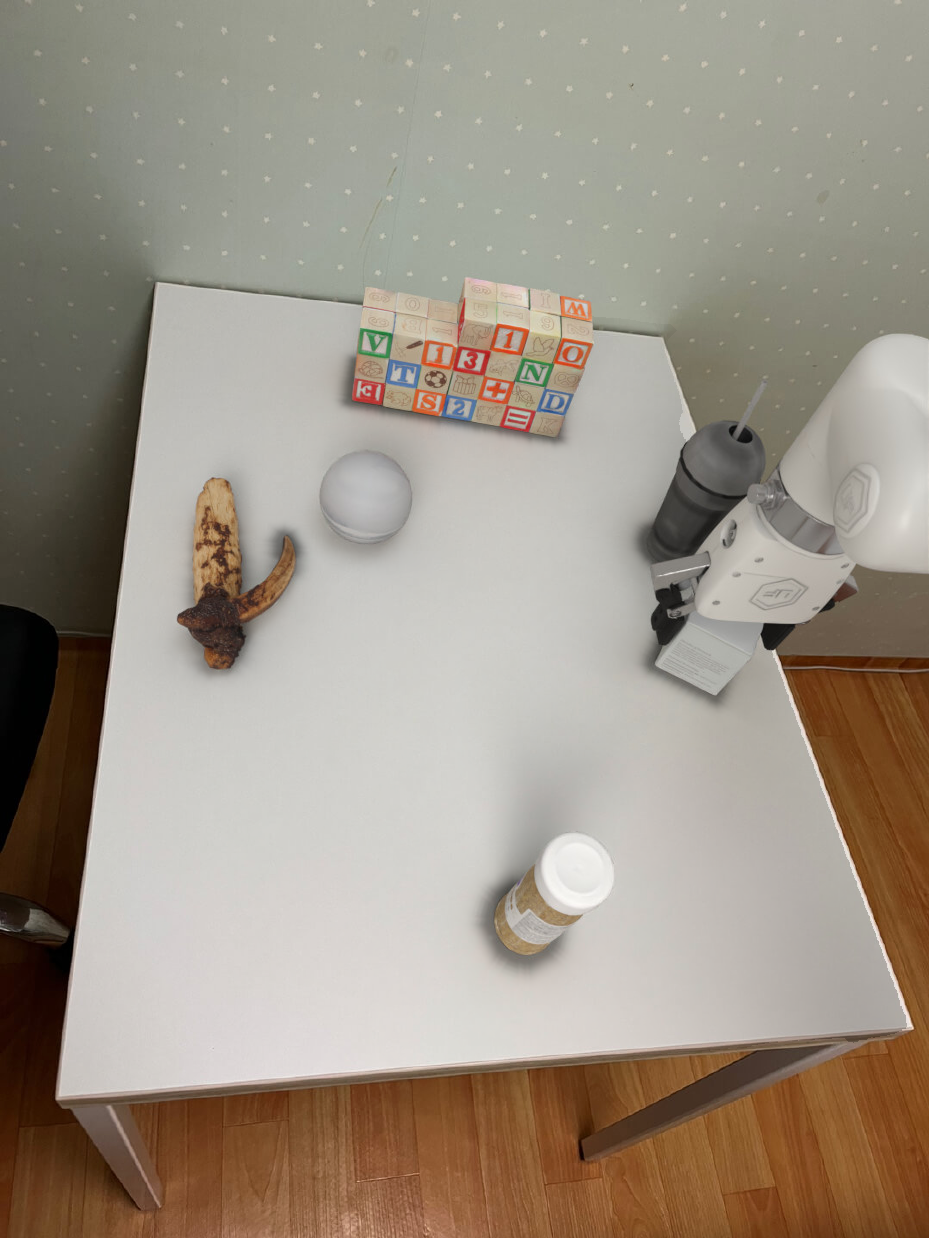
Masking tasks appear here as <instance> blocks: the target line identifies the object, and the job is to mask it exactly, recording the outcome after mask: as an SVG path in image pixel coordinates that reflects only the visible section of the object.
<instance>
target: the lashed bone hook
mask: <svg viewBox="0 0 929 1238" xmlns="http://www.w3.org/2000/svg"><path fill="white" fill-rule="evenodd" d="M232 491H233V489H232V485H231V482H230V481H229V480H228V479H226V478H223V477H214V476H213V477H211V478H209V479H208V480H207V481H205V483H204V485H203V487H202V491H201V492H200V493H199V494H198V496H197V499H196V504H195V525H194V526H193V540H192V542H193V544H192V549H193V551H192V574H193V600H194V606H192V607H189V608H186V609H184V610H183V611H182V612H179V613H178V614H177V616H176V622H177V623H178V624H179V625H180V626H183V627H185V628H187V630H188V631H189V634H190V635H191V637H192V638H193V639H194V640H196V641H197V642H198V643H199V644H201V646H202V647H203V648H204V649H203V659H204V661H205V662H206V664H207V665H208V667H209V668H211V669H214V670H227V669H231V668H232V667H233V666H234V664H235V662H236V659H237V658H239V657H240V652H241V650H242V648H243V647H244V645H245V643H246V638H247V635H246V634H245V633H244V628H243V624H246V623H249V622H250V621H252V620H254V619H255V618H258V617H259V616H262V615H263V614H264V613H265V612H267V611H268V610H270V609H271V608H272V607H273V606H274V605H275V604H276V602H277V601H278V600H279V599H280V598H281V597H282V596H283V594H284V592H285V591H286V589H287V588H288V586H289V584H290V581H291V580H292V578H293V576H294V572H295V570H296V563H297V556H296V555H297V554H296V551H295V547H294V545H293V543H292V540H291V539H290V537H289V536H288V535H284V537H283V540H282V548H281V549H282V550H281V552H280V556H279V559H278V561H277V563H276V564H275V566H274V568H273V569H272V571H271V572H270V574H269V575H268V576H267V577H266V578H265V579H264V580H263V581H262V582H261V583H259V584H256V585H255V586H254V587H253V588H251V589H249V590H247V591H246V592H243V593H241V590H242V587H243V577H242V575H243V573H242V562H243V555H242V553H241V548H240V540H239V535H240V534H239V533H240V532H239V519H238V515H237V511H236V503H235V496H234V493H233V492H232Z"/></svg>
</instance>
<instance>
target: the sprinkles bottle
mask: <svg viewBox="0 0 929 1238" xmlns="http://www.w3.org/2000/svg"><path fill="white" fill-rule="evenodd" d="M615 882H616V868H615V863H614V860H613V858H612V856H611V854H610V852H609V850H608V849H607V848H606V847H605V846H604V844H603V843H602V842H601V841H600V840H598V838H596V837H594V836H592V835H590V834H588V833H585V832H580V831H568V832H567V831H566V832H562V833H560V834H558V835H556V836H554V837H553V838H551V840H550V841H548V843H547V844H546V845H545V846H544V847H543V848H542V850H541V851H540V852H539V854H538V855H537V857H536V860H535V863H534V864H533V865H532V866H531V867H529V868H528V870H527V871H526V872H525V873H524V874H523V876H522V877H521V878H520V879H518V881H517V882H516V883H515V884H514V885H513V887H511V889H510V890H509V891H508V893H505V894H504V895H503V897H502V898H501V899H499V902H498V903H497V904H496V908H495V910H494V919H493V924H494V927H495V932H496V934H497V936H498V938H499V940H500V941H501V942H502V943H503V945H504V946H505V947H506V948H507V949H508V950H510V951H512V952H514V953H516V954H518V955H521V956H522V955H523V956H525V955H526V956H532V955H536V954H538V953H541V952H542V951H543V950H545V949H546V948H547V947H548V946H549V945H550V944H551V942H553V941H554V940H556V939H558V937H560V936H562V934H563V933H565V932H566V931H567V930H568V929H570V928H571V927H572V926H573V925H575V924H576V923H577V922H578V921H579V920H580V919H581V918H583V916H584V915H586V914H589V913H591V912H593V911H594V910H596V909H597V908H598V907H599V906H602V904H603V903H604V902H605V901H606V900H607V899H608V898H609V896H610V895H611V893H612V892H613V890H614V886H615Z"/></svg>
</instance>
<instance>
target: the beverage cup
mask: <svg viewBox="0 0 929 1238" xmlns="http://www.w3.org/2000/svg"><path fill="white" fill-rule="evenodd" d="M768 383H769V381H768V380H766V379H762V380H761V382H760V383H759V385H758V387H757V389H756V391H755V393H754V394H753V396H752V399H751V400H750V403H749V404H748V406H747V407H746V409H745V411H744V413H743V415H742V417H741V418H740V421H737V420H730V419H729V420H727V419H722V420H718V421H714V422H709V423H708V424H706V425H704V426H702V427H701V428H700V429H699V430H697V431H696V432H694V434H692V435H691V437H690V438H689V439H688V440H687V441H686V442H684V444H683V445H682V447H681V448H680V452H679V457H678V460H677V464H676V467H675V474H674V475H673V478H672V480H671V482H670V485H669V486H668V489H667V491H666V493H665V496H664V498H663V500H662V503H661V505H660V508H659V510H658V512H657V515H656V517H655V519H654V520H653V523H652V525H651V528H650V532H649V535H648V537H647V538H646V546H647V549H648V552H649V553H650V554H651V556H652V557H653V558H654V559H655V560H656V561H657V562H658V563H660V562H665V561H669V560H674V559H679V558H683V557H688V556H693V555H695V554H696V552H697V551H698V549H699V548H700V546H701V545H702V544H703V542H704V541H705V540H706V538H707V537H708V536H709V535H710V534H711V532H712V531H713V530H714V529H715V528H716V526H717V525H718V524H719V523H720V522H721V521H722V520H723V519H724V518H725V517H726V515H727V514H728V513H729V512H730V511H731V510H732V509H733V508H734V507H735V506H737V505H738V504H739V503H740V502H741V501H742V500H743V499H744V498H745V497H746V496H747V492H748V489H749V487H750V485H751V484H761V481H762V477H763V476H764V474H765V473H764V472H765V470H766V465H767V463H766V462H767V461H766V460H767V459H766V449H765V446H764V443H763V441H762V439H761V437H760V436H759V434H758V433H757V432H756V430H754V429H753V428H751V427H750V426H749V425H747V422H748V421H749V419H750V417H751V415H752V413H753V411H754V409H755V407H756V406H757V404H758V402H759V400H760V398H761V397H762V395H763V393H764V390H765V389H766V387H767V385H768Z"/></svg>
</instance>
